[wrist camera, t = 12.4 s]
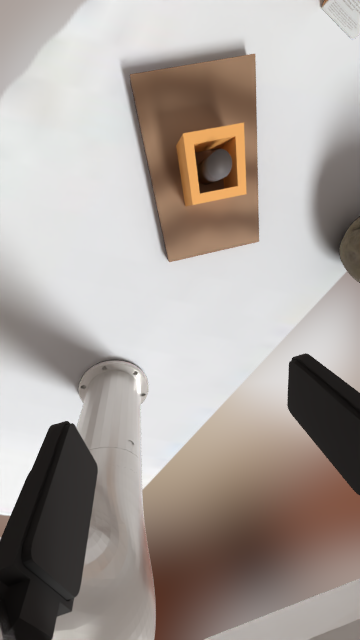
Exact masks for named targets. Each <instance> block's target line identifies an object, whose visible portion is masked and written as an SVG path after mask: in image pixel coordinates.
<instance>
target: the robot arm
mask: <svg viewBox="0 0 360 640" xmlns="http://www.w3.org/2000/svg"><path fill="white" fill-rule="evenodd" d="M147 394H148V380H147V377H146V375H145V374H144V372H143V371H142V370H141V369H140V368H138V367H137V366H135V365H133V364H131V363H129V362H125V361H117V360H113V361H105V362H101V363H99V364H96V365H94V366H93V367H91V368H90V369H89V370H87V371H86V372H85V374H84V375H83V376H82V379H81V381H80V384H79V396H80V398H81V400H82V402H83V407H82V410H81V414H80V417H79V421H78V424H77V427H75V425H74V424H73V423H72V424H70V423H69V422H68V421H65V422H62V423H58V424H55V425H52V426H50V428H49V430H48V432H47V434H46V437H45V439H44V442H43V444H42V446H41V449H40V451H39V453H38V456H37V458H36V461H35V463H34V465H33V468H32V470H31V471H30V473H29V475H28V476H27V478H26V481H25V483H24V486H23V488H22V490H21V493H20V495H19V497H18V500H17V502H16V504H15V507H14V509H13V511H12V514H11V516H10V519H9V521H8V523H7V526H6V528H5V530H4V533H3V535H2V537H0V640H154V635H155V623H156V608H155V591H154V583H153V575H152V568H151V563H150V557H149V551H148V544H147V538H146V532H145V523H144V513H143V499H142V457H141V404H142V403H143V402H144V400H145V399H146V397H147ZM288 409H289V411H290V413H291V414H292V415H293V417H294V418H295V419H296V420H297V421H298V423H299V424H300V425H301V426H302V428H303V429H304V430H305V431H306V432H307V434H308V435H309V436H310V437H311V439H312V440H313V441H314V442H315V443H316V445H317V446H318V447H319V448H320V450H321V451H322V452H323V453H324V455H325V456H326V457H327V458H328V459H329V461H330V462H331V463H332V464H333V466H334V467H335V468H336V469H337V470H338V472H339V473H340V474H341V475H342V477H343V478H344V479H345V480H346V481H347V483H348V484H349V485H350V486H351V488H353V490H354V491H355V492H356V493H357V494H359V495H360V393H359V392H358V391H356V390H355V389H354V388H352V387H351V386H350V385H348V384H347V383H346V382H344V381H343V380H342V379H341V378H339V377H338V376H337V375H335V374H334V373H333V372H331V371H330V370H329V369H327V368H326V367H325V366H323V365H322V364H321V363H319V362H318V361H317V360H315V359H314V358H313V357H311V356H310V355H309V354H302V355H299V356H296V357H293V358H292V361H291V362H290V363H289V380H288ZM204 640H360V579H358V580H355V581H353V582H350V583H347V584H345V585H342V586H340V587H337V588H335V589H332V590H329V591H327V592H324V593H321V594H319V595H316V596H314V597H311V598H309V599H306V600H303V601H301V602H298V603H296V604H293V605H291V606H289V607H286V608H283V609H280V610H278V611H275V612H273V613H271V614H268V615H265V616H262V617H260V618H257V619H255V620H253V621H250V622H248V623H245V624H242V625H240V626H237V627H235V628H232V629H229V630H227V631H224V632H222V633H219V634H217V635H214V636H212V637H209V638H206V639H204Z"/></svg>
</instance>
